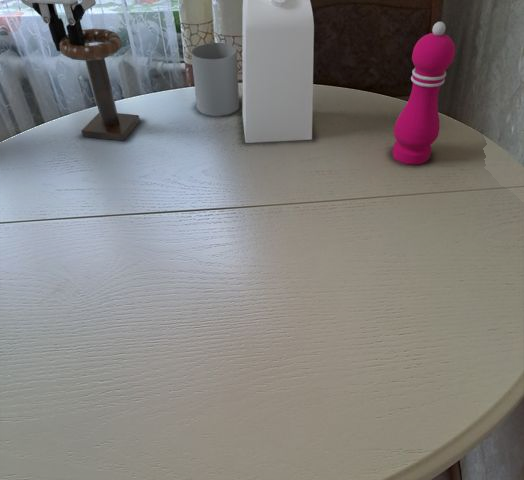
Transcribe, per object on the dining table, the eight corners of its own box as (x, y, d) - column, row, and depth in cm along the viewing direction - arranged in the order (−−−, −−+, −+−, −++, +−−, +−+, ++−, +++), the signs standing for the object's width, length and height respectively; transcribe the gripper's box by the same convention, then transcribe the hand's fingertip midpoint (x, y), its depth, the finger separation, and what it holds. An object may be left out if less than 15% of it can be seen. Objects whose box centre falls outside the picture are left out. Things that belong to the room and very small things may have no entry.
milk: (303, 110, 97) (311, -59, 78) (311, 139, 90) (323, -40, 70) (242, 114, 97) (234, -56, 77) (245, 142, 90) (237, -37, 70)
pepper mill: (380, 156, 86) (404, 22, 71) (405, 141, 89) (432, 10, 74) (416, 171, 82) (449, 34, 67) (440, 155, 86) (476, 21, 70)
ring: (50, 59, 82) (46, 46, 80) (78, 38, 88) (75, 25, 86) (107, 64, 80) (104, 50, 78) (131, 42, 86) (129, 29, 85)
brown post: (83, 136, 92) (59, 58, 82) (101, 117, 97) (82, 41, 87) (123, 141, 91) (104, 62, 81) (140, 121, 96) (124, 44, 86)
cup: (191, 113, 97) (184, 57, 90) (204, 95, 103) (199, 41, 95) (233, 117, 96) (229, 61, 89) (244, 99, 101) (241, 44, 94)
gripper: (-35, -92, 69) (17, 54, 83) (70, -90, 67) (105, 60, 81) (-5, -101, 74) (40, 38, 88) (95, -99, 72) (124, 44, 86)
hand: (71, 48), depth 84 cm, fingers closed on ring, 2 cm apart
